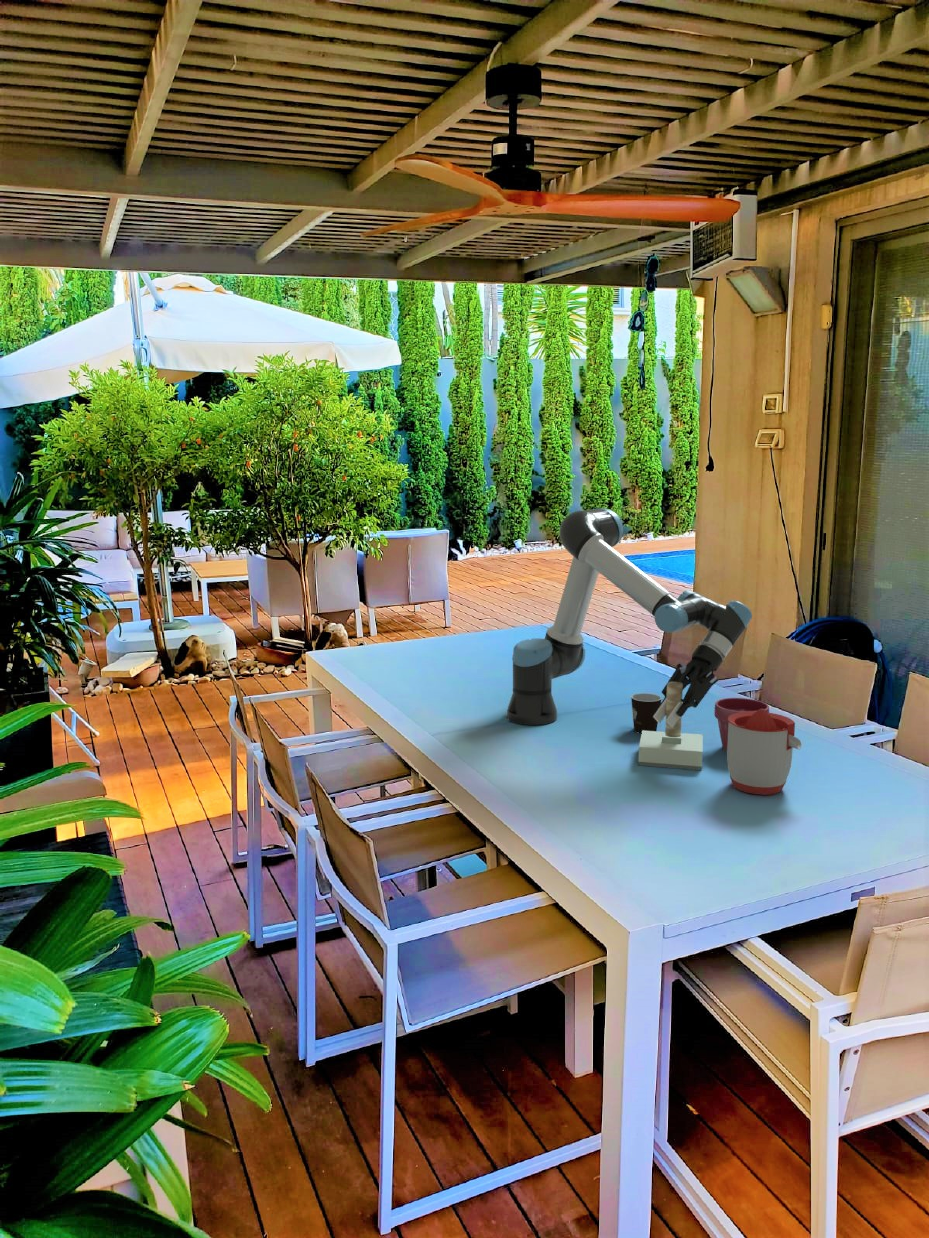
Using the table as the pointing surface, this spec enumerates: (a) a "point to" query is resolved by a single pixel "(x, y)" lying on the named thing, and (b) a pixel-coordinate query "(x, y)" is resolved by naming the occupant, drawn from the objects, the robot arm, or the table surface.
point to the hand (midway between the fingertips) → (662, 722)
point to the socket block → (671, 750)
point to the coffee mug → (645, 711)
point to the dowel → (672, 700)
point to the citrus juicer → (760, 751)
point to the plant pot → (734, 706)
